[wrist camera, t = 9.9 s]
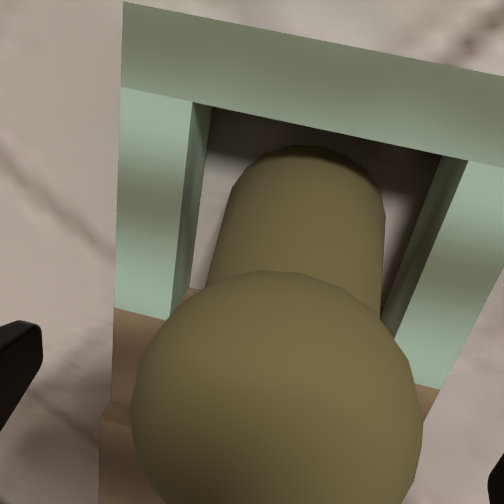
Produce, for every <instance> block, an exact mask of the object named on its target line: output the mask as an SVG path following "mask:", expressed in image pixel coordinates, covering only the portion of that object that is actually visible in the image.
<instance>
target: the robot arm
mask: <svg viewBox="0 0 504 504" xmlns="http://www.w3.org/2000/svg"><path fill="white" fill-rule="evenodd" d="M42 361H43V347H42V332H41V328H40V326H39V325H37V324H34V323H30V322H26V321H21V320H18V321H14V322H11V323H9V324H6V325H3V326H1V327H0V431H1V430H2V428H3V427H4V425H5V424H6V422H7V420H8V419H9V417H10V416H11V414H12V412H13V411H14V409H15V408H16V406H17V404H18V403H19V401H20V399H21V398H22V396H23V395H24V393H25V391H26V390H27V388H28V387H29V385H30V383H31V382H32V380H33V379H34V377H35V375H36V374H37V372H38V371H39V369H40V367H41V364H42ZM488 494H489V501H490V504H504V454H503V455H502V457H501V458H500V460H499V461H498V462H497V464H496V465H495V467H494V468H493V470H492V471H491V473H490V475H489V478H488Z"/></svg>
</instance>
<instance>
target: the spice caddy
mask: <svg viewBox="0 0 504 504" xmlns="http://www.w3.org/2000/svg"><path fill="white" fill-rule="evenodd" d="M212 106H214V107H219V108H223V109H228V110H233V111H237V112H242V113H247V114H252V115H256V116H261V117H266V118H270V119H275V120H280V121H285V122H289V123H294V124H299V125H303V126H308V127H313V128H317V129H322V130H327V131H332V132H336V133H341V134H346V135H350V136H355V137H360V138H364V139H369V140H374V141H379V142H383V143H388V144H393V145H397V146H402V147H407V148H412V149H416V150H421V151H426V152H430V153H435V154H440V155H442V157H441V160H440V162H439V165H438V168H437V170H436V173H435V175H434V178H433V181H432V183H431V186H430V188H429V191H428V194H427V196H426V199H425V201H424V204H423V207H422V209H421V212H420V214H419V217H418V220H417V222H416V225H415V227H414V230H413V232H412V235H411V238H410V240H409V243H408V245H407V248H406V251H405V253H404V256H403V258H402V261H401V264H400V266H399V269H398V271H397V274H396V277H395V279H394V282H393V284H392V287H391V290H390V292H389V295H388V297H387V300H386V303H385V305H384V308H383V310H382V313H381V315H380V320H381V322H382V323H383V324H384V326H385V327H386V329H387V330H388V331H389V333H390V334H391V336H392V337H393V339H394V340H395V341H396V343H397V344H398V346H399V347H400V349H401V350H402V351H403V353H404V354H405V356H406V357H407V359H408V360H409V364H410V368H411V371H412V375H413V379H414V382H415V387H416V391H417V395H418V399H419V404H420V408H421V412H422V416H423V422H424V420H425V418H426V416H427V415H428V413H429V411H430V409H431V407H432V405H433V403H434V401H435V399H436V397H437V395H438V393H439V391H440V389H441V387H442V385H443V384H444V382H445V380H446V378H447V376H448V374H449V372H450V370H451V368H452V366H453V364H454V362H455V360H456V358H457V356H458V354H459V353H460V351H461V349H462V347H463V345H464V343H465V341H466V339H467V337H468V335H469V333H470V331H471V329H472V327H473V325H474V323H475V322H476V320H477V318H478V316H479V314H480V312H481V310H482V308H483V306H484V304H485V302H486V300H487V298H488V296H489V294H490V292H491V291H492V289H493V287H494V285H495V283H496V281H497V279H498V277H499V275H500V273H501V271H502V269H503V267H504V77H503V76H498V75H493V74H488V73H483V72H478V71H473V70H468V69H463V68H458V67H452V66H447V65H442V64H437V63H432V62H427V61H422V60H417V59H412V58H407V57H402V56H397V55H392V54H387V53H381V52H376V51H371V50H366V49H361V48H356V47H351V46H346V45H341V44H336V43H331V42H326V41H321V40H316V39H310V38H305V37H300V36H295V35H290V34H285V33H280V32H275V31H270V30H265V29H260V28H255V27H250V26H245V25H239V24H234V23H229V22H224V21H219V20H214V19H209V18H204V17H199V16H194V15H189V14H184V13H179V12H174V11H168V10H163V9H158V8H153V7H148V6H143V5H138V4H133V3H128V2H123V31H122V63H121V96H120V128H119V160H118V193H117V225H116V258H115V290H114V322H113V355H112V387H111V402H110V404H109V405H108V407H107V408H106V410H105V412H104V413H103V415H102V416H101V418H100V446H99V504H166V503H165V502H164V501H163V500H162V499H161V498H160V497H159V496H158V495H156V494H155V493H154V491H153V490H152V488H151V486H150V485H149V483H148V481H147V480H146V478H145V476H144V475H143V473H142V471H141V470H140V468H139V466H138V463H137V458H136V453H135V447H134V442H133V437H132V430H131V424H130V417H129V407H130V403H131V399H132V394H133V390H134V386H135V382H136V377H137V373H138V369H139V365H140V361H141V357H142V354H143V353H144V351H145V350H146V348H147V347H148V345H149V343H150V342H151V340H152V339H153V337H154V336H155V334H156V333H157V332H158V331H159V329H160V328H161V327H162V325H163V324H164V323H165V321H166V320H167V319H168V318H169V316H170V315H171V314H172V312H173V311H174V310H175V308H177V307H178V306H179V305H181V304H182V303H183V302H185V301H186V300H187V299H189V298H190V297H192V296H193V295H195V294H197V293H198V292H200V290H195V289H191V288H189V284H190V276H191V268H192V260H193V253H194V245H195V237H196V229H197V221H198V213H199V205H200V197H201V189H202V181H203V173H204V166H205V158H206V150H207V142H208V134H209V126H210V118H211V110H212Z"/></svg>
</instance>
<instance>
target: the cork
mask: <svg viewBox="0 0 504 504" xmlns="http://www.w3.org/2000/svg"><path fill="white" fill-rule="evenodd" d="M385 221H386V216H385V211H384V207H383V202H382V198H381V193H380V191H379V190H378V188H377V187H376V185H375V184H374V182H373V180H372V179H371V177H370V176H369V174H368V173H367V171H366V170H364V169H363V168H362V167H361V166H359V165H358V164H357V163H356V162H354V161H353V160H352V159H350V158H349V157H348V156H347V155H345V154H342V153H339V152H336V151H334V150H331V149H328V148H325V147H322V146H312V145H291V146H288V147H285V148H281V149H278V150H275V151H272V152H268V153H266V154H265V155H264V156H262V157H261V158H259V159H258V160H256V161H255V162H254V163H252V164H251V165H249V166H248V167H247V168H246V169H245V170H244V172H243V173H242V175H241V176H240V177H239V179H238V180H237V181H236V183H235V184H234V186H233V187H232V190H231V194H230V197H229V200H228V204H227V207H226V210H225V214H224V218H223V222H222V226H221V229H220V233H219V237H218V241H217V244H216V248H215V252H214V256H213V259H212V263H211V267H210V271H209V274H208V278H207V282H206V286H205V289H203V290H201V291H200V292H198V293H197V294H195V295H193V296H192V297H190V298H189V299H187V300H186V301H185V302H183V303H182V304H181V305H179V306H178V307H177V308H175V310H174V311H173V312H172V314H171V315H170V316H169V318H168V319H167V320H166V321H165V323H164V324H163V325H162V327H161V328H160V329H159V331H158V332H157V333H156V334H155V336H154V337H153V339H152V340H151V342H150V343H149V345H148V347H147V348H146V350H145V351H144V353H143V354H142V357H141V361H140V365H139V369H138V373H137V377H136V382H135V386H134V390H133V394H132V399H131V403H130V407H129V417H130V424H131V430H132V437H133V442H134V447H135V453H136V458H137V463H138V466H139V468H140V470H141V471H142V473H143V475H144V476H145V478H146V480H147V481H148V483H149V485H150V486H151V488H152V490H153V491H154V493H155V494H156V495H158V496H159V497H160V498H161V499H162V500H163V501H164V502H165V503H166V504H401V503H402V501H403V499H404V498H405V496H406V494H407V492H408V490H409V489H410V487H411V485H412V483H413V482H414V478H415V474H416V469H417V465H418V460H419V456H420V452H421V445H422V433H423V416H422V412H421V408H420V404H419V399H418V395H417V391H416V387H415V382H414V379H413V375H412V371H411V368H410V364H409V360H408V359H407V357H406V356H405V354H404V353H403V351H402V350H401V349H400V347H399V346H398V344H397V343H396V341H395V340H394V339H393V337H392V336H391V334H390V333H389V331H388V330H387V329H386V327H385V326H384V324H383V323H382V322H381V320H380V305H381V288H382V271H383V254H384V237H385Z"/></svg>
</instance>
